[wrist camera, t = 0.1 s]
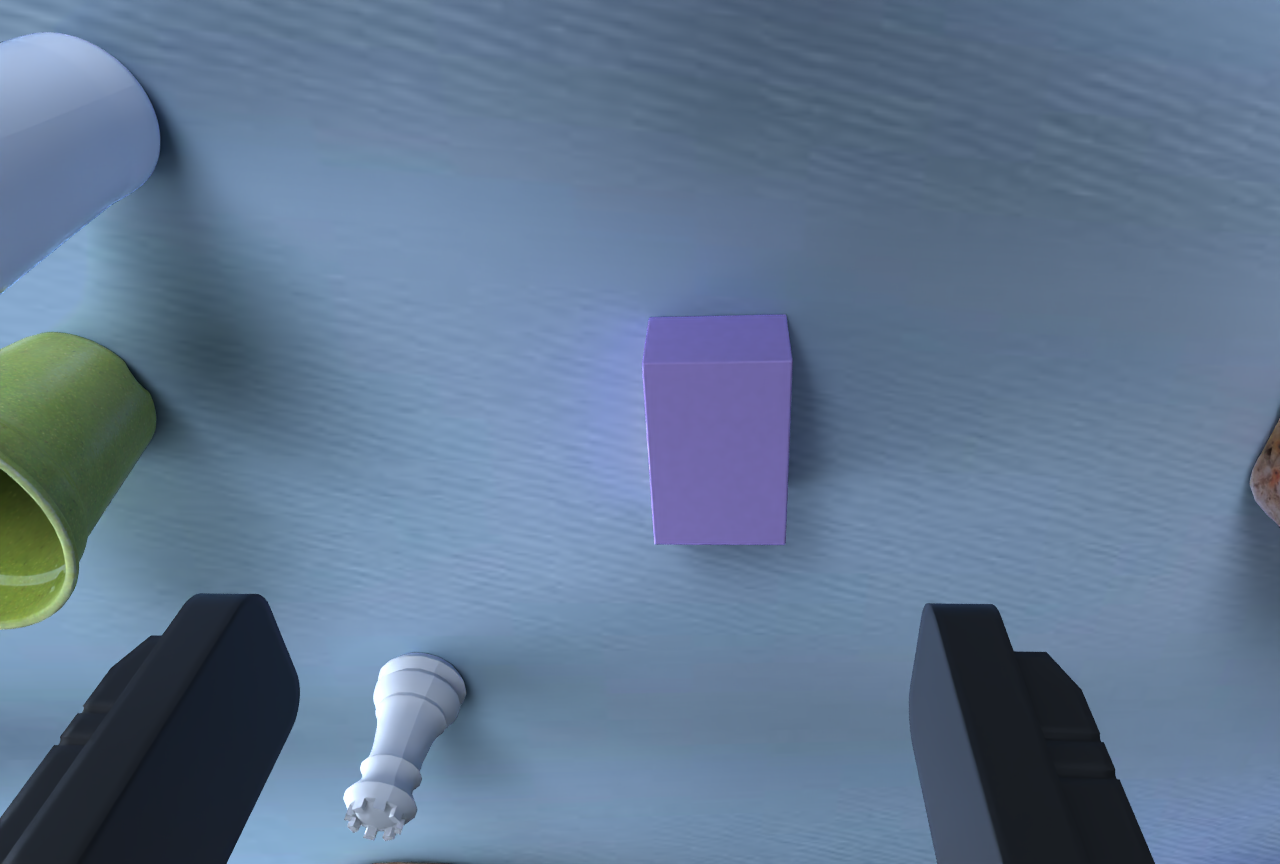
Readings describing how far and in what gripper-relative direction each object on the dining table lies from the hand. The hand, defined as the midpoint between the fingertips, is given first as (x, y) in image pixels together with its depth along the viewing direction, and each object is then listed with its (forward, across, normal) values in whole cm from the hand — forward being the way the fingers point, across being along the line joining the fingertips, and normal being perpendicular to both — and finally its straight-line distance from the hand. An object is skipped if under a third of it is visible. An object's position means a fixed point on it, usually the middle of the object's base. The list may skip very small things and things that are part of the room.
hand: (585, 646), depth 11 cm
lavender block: (+22, -1, +10) cm, 24 cm away
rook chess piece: (+22, +14, +26) cm, 37 cm away
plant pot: (+22, +25, +9) cm, 34 cm away
